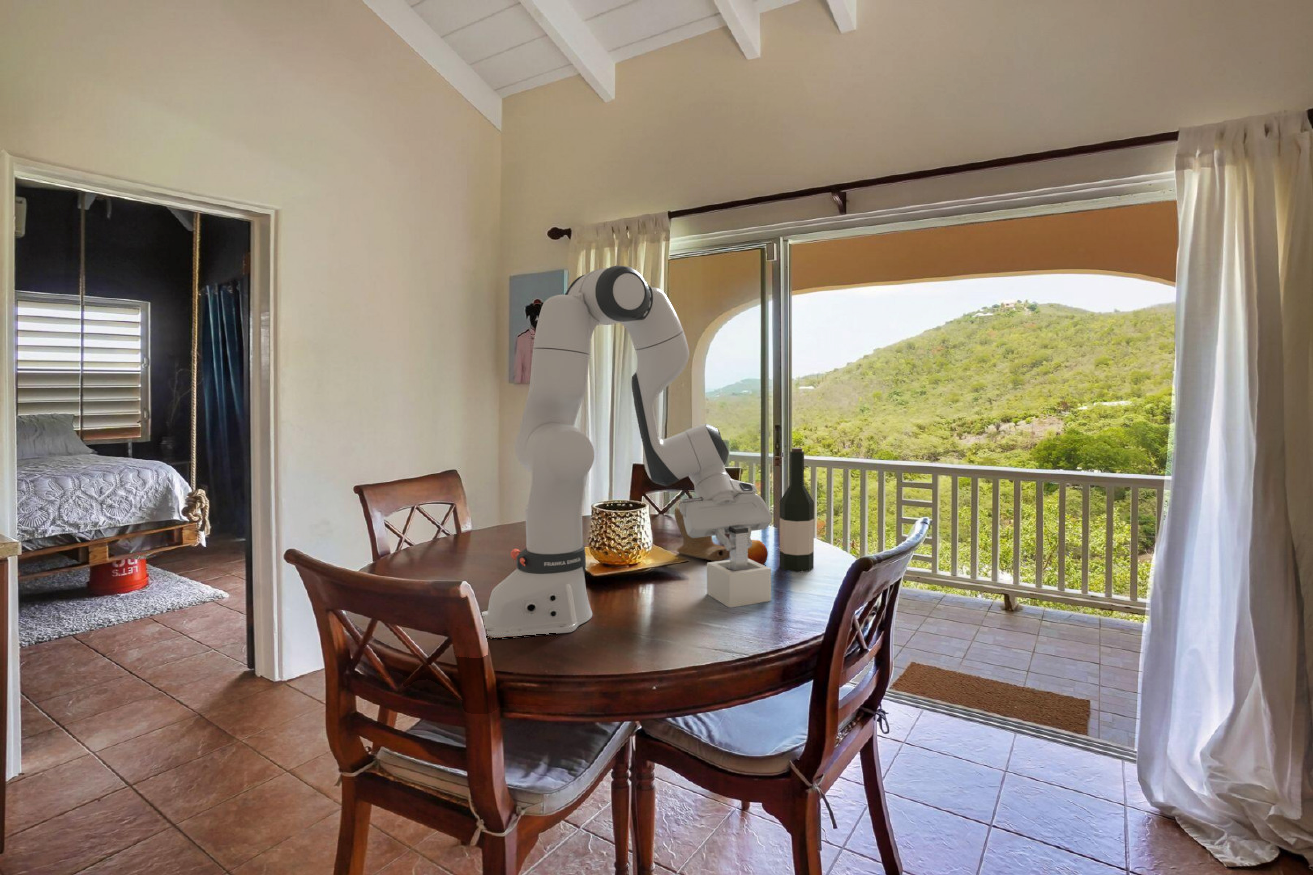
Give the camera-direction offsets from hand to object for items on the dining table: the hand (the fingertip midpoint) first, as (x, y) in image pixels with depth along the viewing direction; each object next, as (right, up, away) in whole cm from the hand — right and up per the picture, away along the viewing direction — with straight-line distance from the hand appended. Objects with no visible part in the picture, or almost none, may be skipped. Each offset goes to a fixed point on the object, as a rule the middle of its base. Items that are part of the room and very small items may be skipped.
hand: (740, 548), depth 142 cm
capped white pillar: (0, -7, +1) cm, 7 cm away
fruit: (+6, -9, +25) cm, 27 cm away
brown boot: (-6, -9, +35) cm, 36 cm away
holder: (0, -11, +1) cm, 11 cm away
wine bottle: (+17, -9, +24) cm, 31 cm away
